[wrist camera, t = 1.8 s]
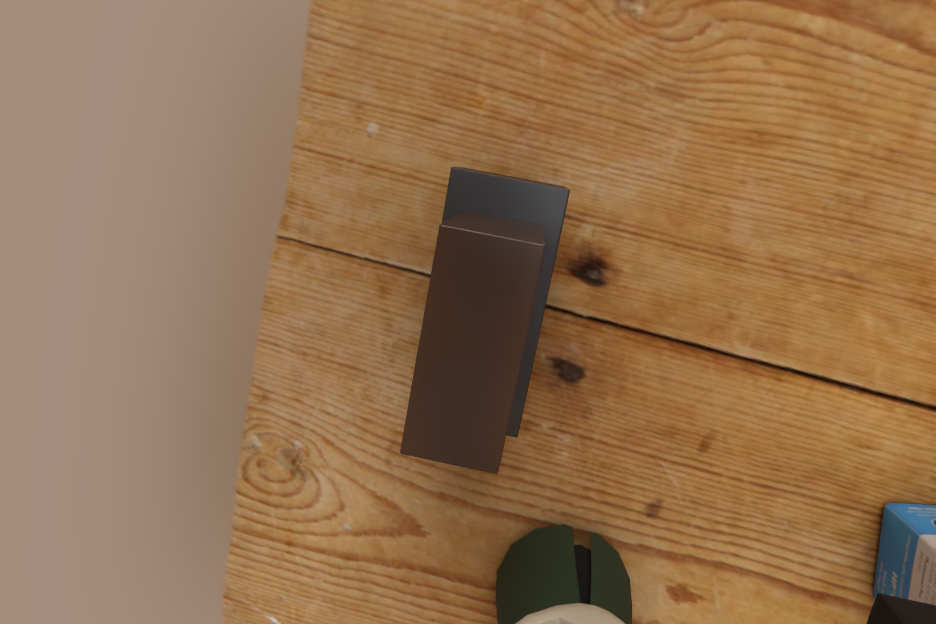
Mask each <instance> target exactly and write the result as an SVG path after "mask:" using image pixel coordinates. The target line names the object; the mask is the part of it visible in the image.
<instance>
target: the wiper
mask: <svg viewBox="0 0 936 624" xmlns="http://www.w3.org/2000/svg"><path fill="white" fill-rule="evenodd" d="M569 192H570V189H568V188H566V187H564V186H558V185H553V184H548V183H543V182H537V181H532V180H527V179H521V178H516V177H511V176H505V175H500V174H495V173H490V172H484V171H479V170H474V169H468V168H462V167H452V168H451V173H450V179H449V185H448V190H447V196H446V202H445V208H444V213H443V219H442V224H441V225H440V226H439V232H438V238H437V243H436V249H435V255H434V261H433V266H432V272H431V278H430V284H429V289H428V295H427V301H426V307H425V312H424V318H423V324H422V330H421V335H420V341H419V347H418V353H417V358H416V364H415V370H414V376H413V381H412V387H411V393H410V399H409V404H408V410H407V416H406V422H405V427H404V433H403V439H402V445H401V450H400V453H401V454H405V455H409V456H414V457H419V458H424V459H428V460H433V461H438V462H442V463H447V464H452V465H457V466H461V467H466V468H471V469H476V470H480V471H485V472H490V473H495V474H497V473H498V471H499V466H500V461H501V456H502V451H503V446H504V442H505V437H506V435H509V436H513V437H517V436H518V433H519V428H520V423H521V419H522V414H523V409H524V404H525V400H526V395H527V390H528V386H529V381H530V376H531V371H532V367H533V362H534V357H535V353H536V348H537V343H538V338H539V334H540V329H541V324H542V320H543V315H544V310H545V305H546V301H547V296H548V291H549V287H550V282H551V277H552V272H553V268H554V263H555V258H556V254H557V249H558V244H559V239H560V235H561V230H562V225H563V221H564V216H565V211H566V206H567V202H568V197H569Z"/></svg>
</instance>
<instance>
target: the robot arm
mask: <svg viewBox="0 0 936 624" xmlns="http://www.w3.org/2000/svg"><path fill="white" fill-rule="evenodd" d="M867 624H936V605H932V604H927V603H922V602H918V601H913V600H909V599H904V598H900V597H895V596H891V595H886V594H881V593H877V596H876V599H875V602H874V604H873V607H872V610H871V613H870V616H869V618H868V621H867Z"/></svg>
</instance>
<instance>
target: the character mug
mask: <svg viewBox="0 0 936 624" xmlns="http://www.w3.org/2000/svg"><path fill="white" fill-rule="evenodd" d="M590 536H591V551H590V550H588V549H586V548H585V547H583V546H582V545H574V542H573V533H572V527H571V526H568V525H565V524H564V525H557V526H551V527H544V528H538V529H535V530H533V531H532V532H530V533H529V534H527V535H526V536H524V537H522V538H521V539H519V540H518V541H516V542H515V543H513V544H512V545H511V546H510V548H509V550H508V552H507V554H506V556H505V557H504V559H503V561H502V563H501V565H500V566H499V568H498V570H497V585H496V607H497V621H498V624H632V600H631V589H630V579H629V576H628V574H627V572H626V569H625V567H624V565H623V562H622V560H621V558H620V555H619V553H618V552H617V551H616V550H615V549H614V548H613V547H612V546H610V545H609V544H608V543H607V542H606V541H605V540H604V539H603V538H601V537H600V536H599V535H598V534H595V533H591V532H590Z"/></svg>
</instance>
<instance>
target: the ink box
mask: <svg viewBox="0 0 936 624" xmlns="http://www.w3.org/2000/svg"><path fill="white" fill-rule="evenodd" d="M877 593H881V594H886V595H891V596H895V597H900V598H904V599H909V600H913V601H918V602H922V603H927V604H932V605H936V505H923V504H907V503H889V504H887V505H885V507H884V513H883V520H882V527H881V536H880V543H879V550H878V558H877V566H876V573H875V582H874V589H873V596H874V597H875V599H876V596H877Z"/></svg>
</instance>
